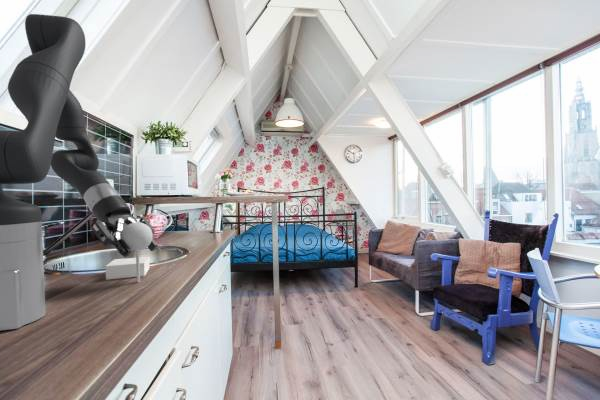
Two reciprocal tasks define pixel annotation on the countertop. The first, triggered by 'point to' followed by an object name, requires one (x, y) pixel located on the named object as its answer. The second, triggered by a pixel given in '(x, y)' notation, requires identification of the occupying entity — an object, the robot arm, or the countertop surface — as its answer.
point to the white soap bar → (126, 268)
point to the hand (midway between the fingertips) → (141, 251)
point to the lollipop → (137, 240)
